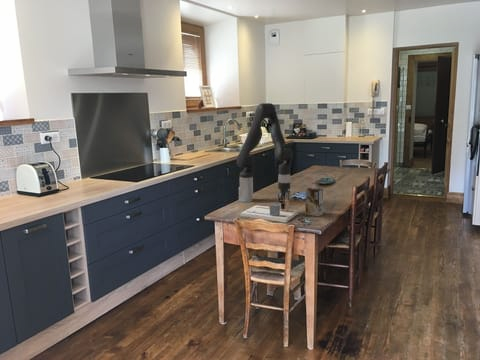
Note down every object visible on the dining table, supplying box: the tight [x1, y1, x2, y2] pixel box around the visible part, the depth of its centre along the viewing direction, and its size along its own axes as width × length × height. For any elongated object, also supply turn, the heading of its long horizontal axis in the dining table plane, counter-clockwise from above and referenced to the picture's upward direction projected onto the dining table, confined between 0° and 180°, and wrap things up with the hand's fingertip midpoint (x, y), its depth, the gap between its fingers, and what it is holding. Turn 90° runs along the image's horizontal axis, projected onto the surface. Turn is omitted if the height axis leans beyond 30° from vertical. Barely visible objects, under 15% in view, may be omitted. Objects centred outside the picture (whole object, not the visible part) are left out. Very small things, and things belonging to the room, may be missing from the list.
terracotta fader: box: [278, 199, 290, 211], centre depth 256 cm, size 5×4×6 cm
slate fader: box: [269, 203, 280, 216], centre depth 246 cm, size 5×4×6 cm
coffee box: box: [305, 187, 324, 217], centre depth 253 cm, size 9×6×16 cm
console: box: [240, 205, 300, 223], centre depth 255 cm, size 30×20×2 cm
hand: (284, 208), depth 256 cm, fingers closed on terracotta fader, 3 cm apart
